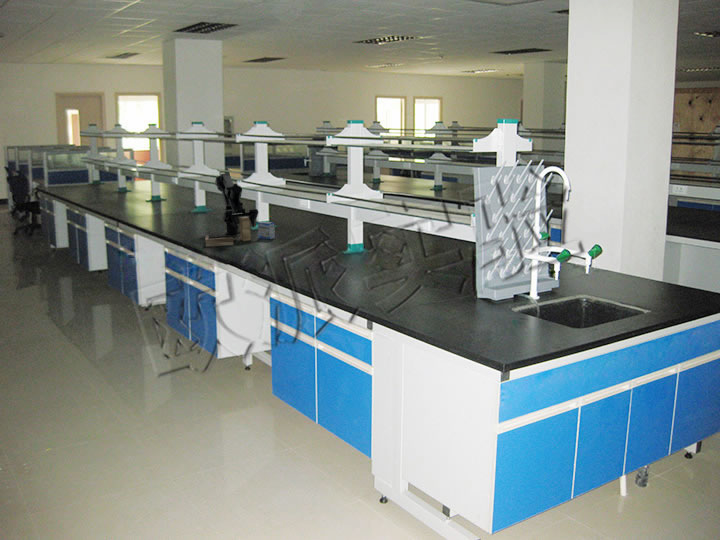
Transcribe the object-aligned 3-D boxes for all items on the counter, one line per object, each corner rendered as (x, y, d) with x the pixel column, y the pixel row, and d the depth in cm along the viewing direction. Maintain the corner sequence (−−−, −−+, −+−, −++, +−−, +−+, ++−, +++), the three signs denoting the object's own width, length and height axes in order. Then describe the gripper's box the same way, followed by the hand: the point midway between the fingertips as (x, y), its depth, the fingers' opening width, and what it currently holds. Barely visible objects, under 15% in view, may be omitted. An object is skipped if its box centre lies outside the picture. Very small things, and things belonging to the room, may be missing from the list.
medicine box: (258, 238, 373) (257, 222, 371) (263, 237, 376) (262, 221, 374) (270, 239, 369) (269, 223, 367) (275, 238, 373) (274, 222, 371)
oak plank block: (240, 239, 370) (239, 217, 368) (247, 238, 372) (246, 216, 370) (243, 240, 367) (242, 218, 364) (250, 240, 369) (249, 217, 366)
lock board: (206, 241, 367) (205, 235, 366) (232, 240, 370) (232, 233, 369) (205, 246, 354) (205, 239, 353) (233, 244, 356) (233, 238, 356)
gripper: (249, 212, 384) (258, 234, 378) (217, 215, 375) (225, 238, 368) (253, 199, 376) (263, 222, 369) (221, 202, 367) (230, 226, 360)
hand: (245, 227), depth 367 cm, fingers open, 9 cm apart
